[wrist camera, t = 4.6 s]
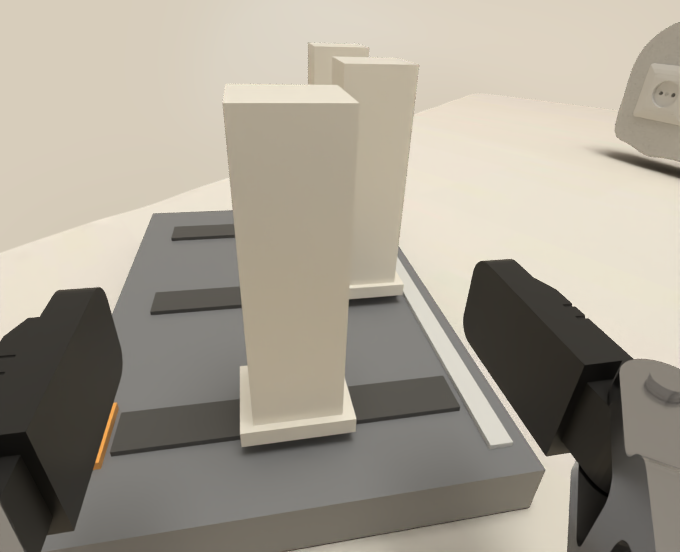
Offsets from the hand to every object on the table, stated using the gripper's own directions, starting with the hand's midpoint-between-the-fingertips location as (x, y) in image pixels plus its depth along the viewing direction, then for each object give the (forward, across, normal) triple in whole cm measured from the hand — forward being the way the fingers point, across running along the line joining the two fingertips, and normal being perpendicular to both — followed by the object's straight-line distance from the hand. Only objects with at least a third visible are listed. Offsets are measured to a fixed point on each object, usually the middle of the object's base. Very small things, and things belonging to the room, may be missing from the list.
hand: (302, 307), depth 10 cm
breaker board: (+10, 0, +8) cm, 13 cm away
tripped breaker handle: (+3, 0, +6) cm, 7 cm away
